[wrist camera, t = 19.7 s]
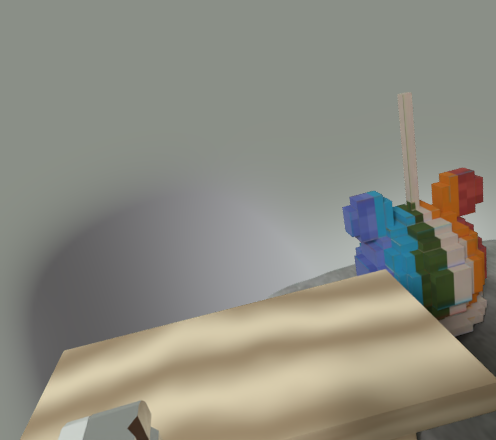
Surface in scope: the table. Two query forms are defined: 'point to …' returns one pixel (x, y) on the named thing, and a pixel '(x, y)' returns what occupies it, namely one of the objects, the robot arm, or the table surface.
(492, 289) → the table surface
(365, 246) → the toy
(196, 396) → the wooden step stool
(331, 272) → the table surface
